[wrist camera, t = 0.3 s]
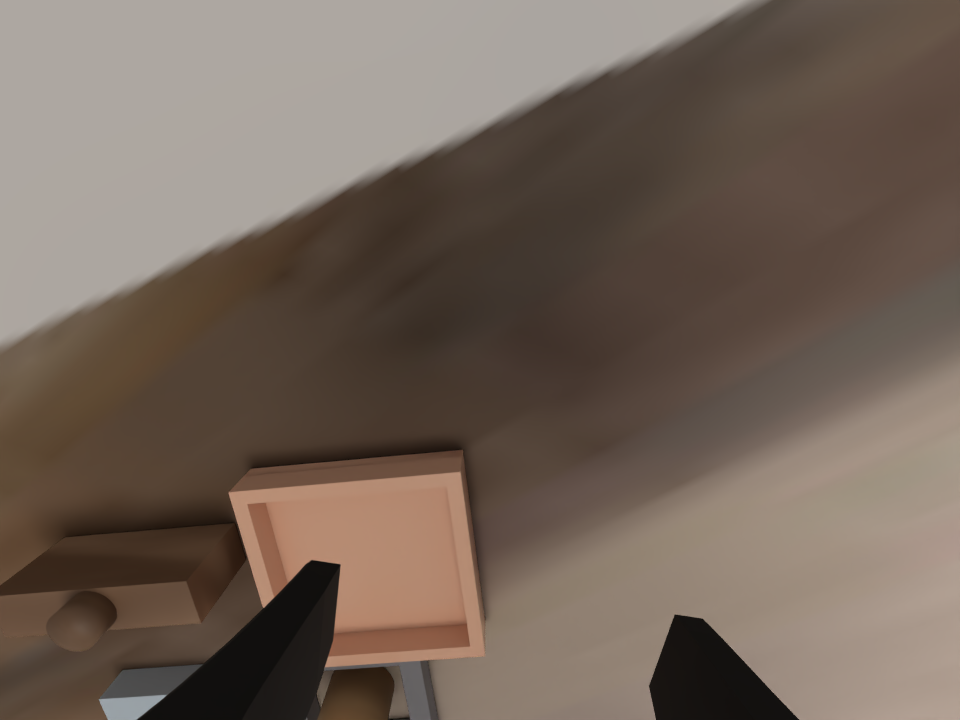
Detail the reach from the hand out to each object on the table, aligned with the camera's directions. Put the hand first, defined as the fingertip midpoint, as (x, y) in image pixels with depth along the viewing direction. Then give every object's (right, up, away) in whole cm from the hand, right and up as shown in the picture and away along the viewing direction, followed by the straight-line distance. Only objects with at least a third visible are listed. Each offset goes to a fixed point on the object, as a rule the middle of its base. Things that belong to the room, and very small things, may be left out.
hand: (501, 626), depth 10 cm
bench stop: (-15, -3, +11) cm, 19 cm away
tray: (-5, -3, +11) cm, 13 cm away
